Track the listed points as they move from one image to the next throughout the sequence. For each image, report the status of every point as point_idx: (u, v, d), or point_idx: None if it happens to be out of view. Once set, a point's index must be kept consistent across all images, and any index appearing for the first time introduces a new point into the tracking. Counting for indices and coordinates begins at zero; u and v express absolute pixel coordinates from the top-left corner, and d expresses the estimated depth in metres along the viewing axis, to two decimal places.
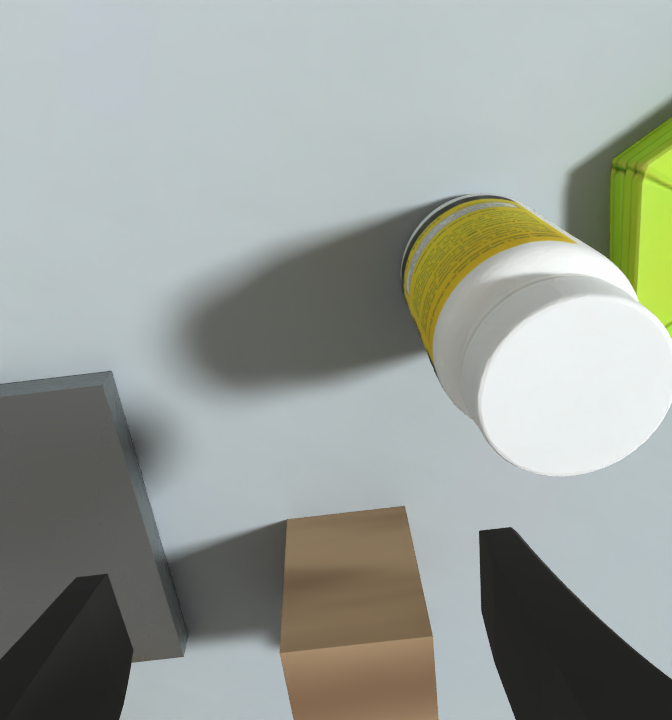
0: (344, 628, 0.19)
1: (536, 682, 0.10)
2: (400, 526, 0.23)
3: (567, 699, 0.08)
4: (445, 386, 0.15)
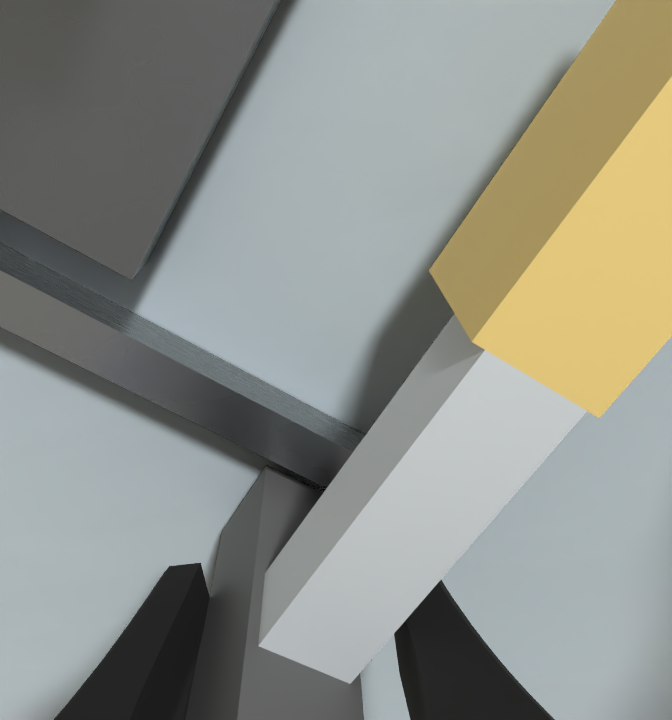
0: None
1: (417, 696, 0.10)
2: None
3: (428, 715, 0.08)
4: None
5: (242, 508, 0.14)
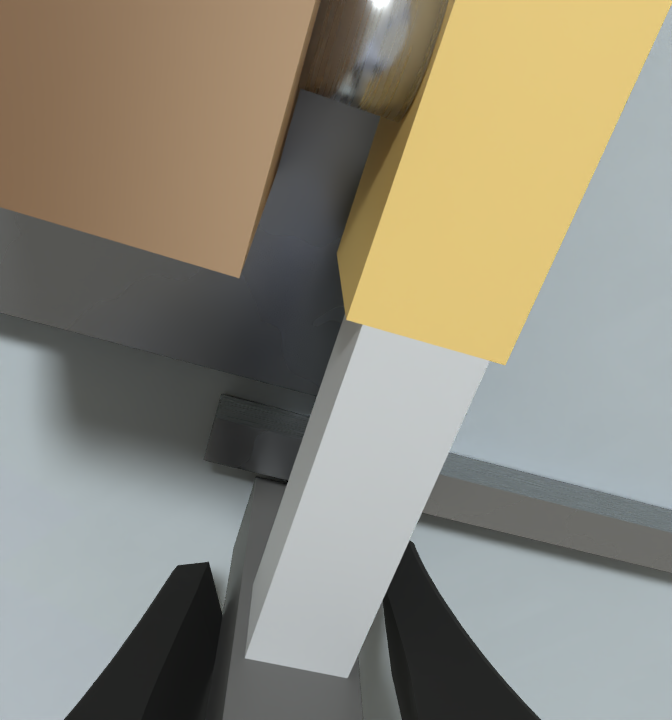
0: None
1: (407, 697, 0.10)
2: None
3: (417, 716, 0.08)
4: None
5: (243, 523, 0.14)
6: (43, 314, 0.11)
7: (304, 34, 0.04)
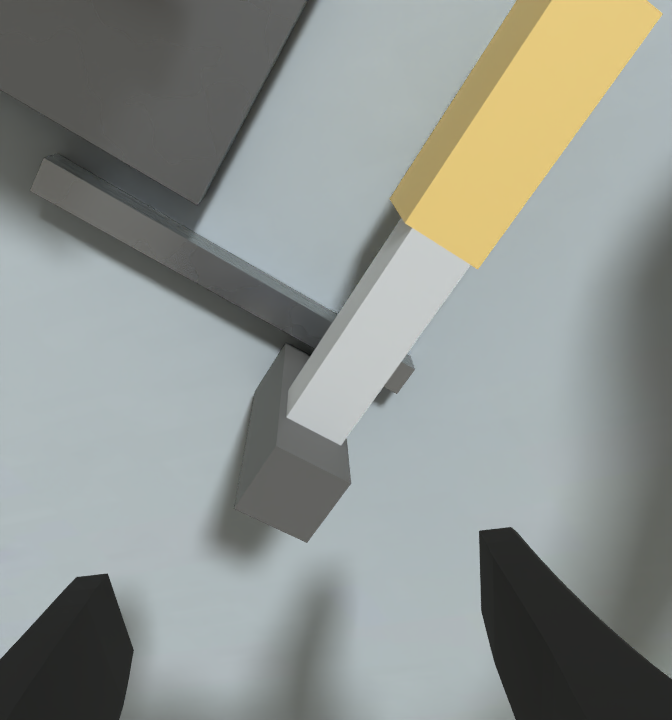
0: None
1: (536, 682, 0.10)
2: None
3: (567, 699, 0.08)
4: None
5: (269, 371, 0.20)
6: None
7: None
